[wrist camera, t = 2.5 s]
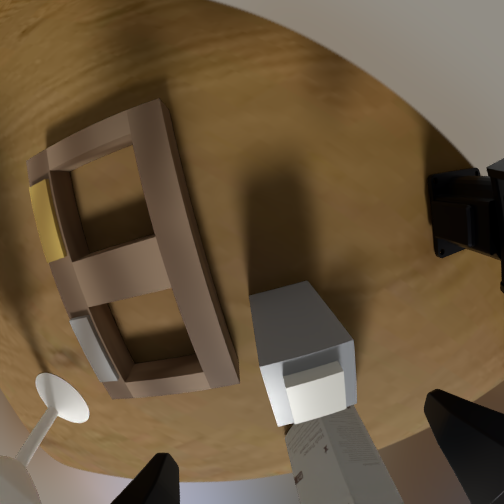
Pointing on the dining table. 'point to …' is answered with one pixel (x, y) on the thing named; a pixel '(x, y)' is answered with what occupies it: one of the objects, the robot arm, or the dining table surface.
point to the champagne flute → (39, 438)
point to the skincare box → (338, 462)
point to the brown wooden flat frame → (132, 258)
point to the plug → (302, 354)
